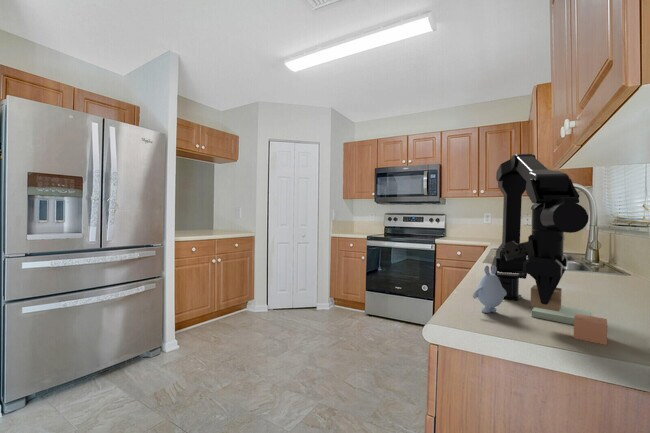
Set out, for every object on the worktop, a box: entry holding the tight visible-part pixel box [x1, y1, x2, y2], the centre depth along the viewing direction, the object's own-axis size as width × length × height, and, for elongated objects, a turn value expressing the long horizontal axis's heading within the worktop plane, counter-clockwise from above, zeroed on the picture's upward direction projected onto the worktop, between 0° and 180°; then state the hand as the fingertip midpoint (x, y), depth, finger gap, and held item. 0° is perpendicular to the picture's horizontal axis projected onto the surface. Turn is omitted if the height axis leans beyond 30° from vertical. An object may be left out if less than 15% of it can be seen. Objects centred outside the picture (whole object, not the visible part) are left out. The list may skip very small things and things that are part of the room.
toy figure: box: [472, 265, 507, 314], centre depth 79 cm, size 11×6×12 cm, turn 108°
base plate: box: [531, 305, 592, 326], centre depth 76 cm, size 11×11×2 cm
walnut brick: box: [530, 284, 562, 311], centre depth 68 cm, size 5×5×4 cm
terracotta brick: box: [573, 314, 608, 346], centre depth 63 cm, size 5×5×4 cm
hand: (545, 301), depth 68 cm, fingers closed on walnut brick, 5 cm apart
